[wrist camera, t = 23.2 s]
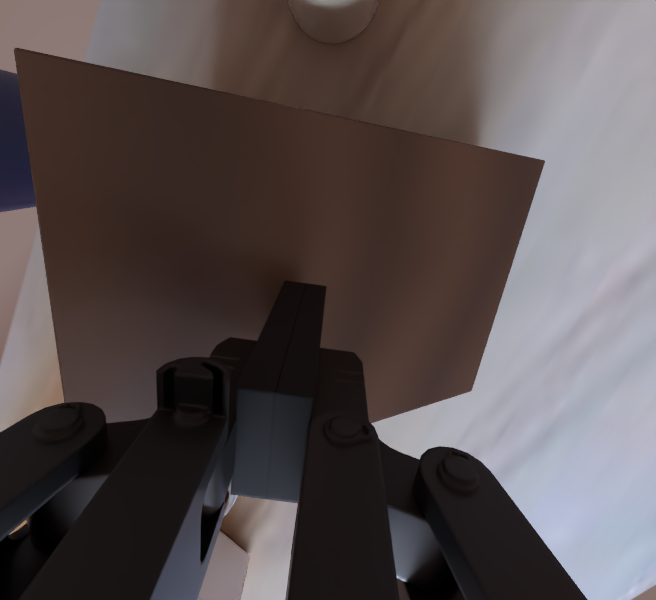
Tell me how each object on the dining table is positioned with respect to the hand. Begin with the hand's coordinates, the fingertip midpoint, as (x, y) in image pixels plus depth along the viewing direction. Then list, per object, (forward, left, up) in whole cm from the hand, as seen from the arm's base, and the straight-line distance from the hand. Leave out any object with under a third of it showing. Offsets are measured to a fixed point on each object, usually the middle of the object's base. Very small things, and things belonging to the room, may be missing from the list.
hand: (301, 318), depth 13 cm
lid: (+2, 0, -3) cm, 3 cm away
